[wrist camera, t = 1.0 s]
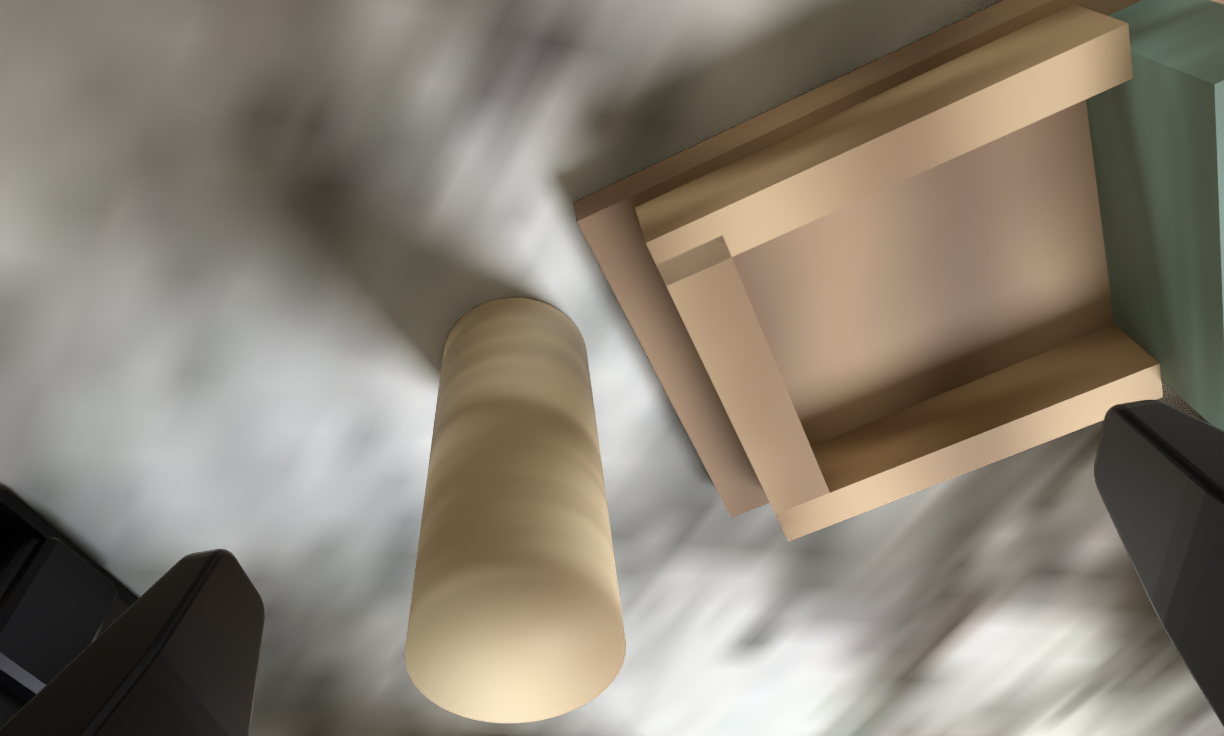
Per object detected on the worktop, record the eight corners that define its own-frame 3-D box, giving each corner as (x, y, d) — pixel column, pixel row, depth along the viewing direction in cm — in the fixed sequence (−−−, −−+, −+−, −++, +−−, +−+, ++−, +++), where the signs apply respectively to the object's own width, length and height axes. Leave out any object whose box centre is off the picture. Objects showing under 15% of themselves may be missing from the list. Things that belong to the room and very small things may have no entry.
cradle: (723, 491, 27) (767, 635, 23) (573, 202, 21) (591, 314, 17) (1214, 294, 25) (1379, 409, 20) (1197, -92, 19) (1423, -58, 14)
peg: (487, 437, 25) (475, 746, 17) (415, 334, 23) (360, 631, 15) (610, 384, 25) (659, 679, 16) (547, 273, 23) (567, 547, 14)
